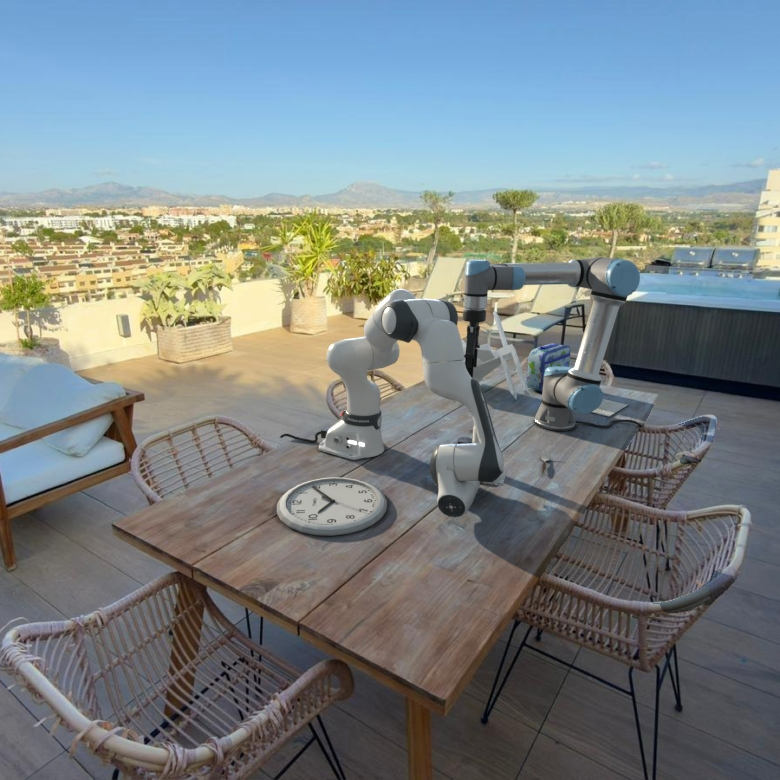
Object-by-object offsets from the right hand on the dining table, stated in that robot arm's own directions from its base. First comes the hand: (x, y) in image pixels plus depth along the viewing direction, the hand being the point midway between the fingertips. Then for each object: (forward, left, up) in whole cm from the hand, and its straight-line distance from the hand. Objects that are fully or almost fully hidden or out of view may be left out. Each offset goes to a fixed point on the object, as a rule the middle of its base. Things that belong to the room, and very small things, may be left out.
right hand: (470, 371), depth 176 cm
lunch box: (-40, -76, -27) cm, 90 cm away
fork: (-25, +13, -27) cm, 39 cm away
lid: (0, 0, -25) cm, 25 cm away
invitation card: (-59, -51, -27) cm, 83 cm away
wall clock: (+37, +48, -27) cm, 66 cm away
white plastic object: (-8, -63, -27) cm, 69 cm away
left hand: (-2, +26, -20) cm, 33 cm away
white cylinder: (-3, +19, -27) cm, 33 cm away
